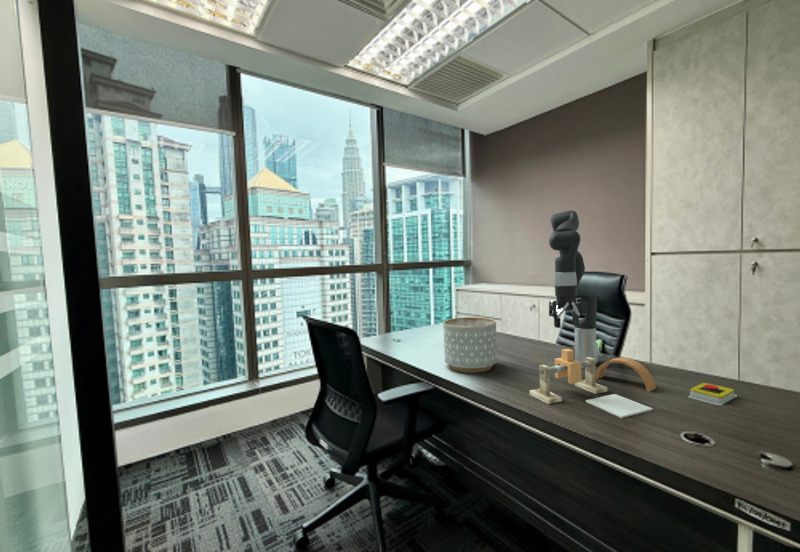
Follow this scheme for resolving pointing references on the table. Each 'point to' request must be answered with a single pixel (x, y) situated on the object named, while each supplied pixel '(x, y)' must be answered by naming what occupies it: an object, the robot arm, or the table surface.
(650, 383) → the arch
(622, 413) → the mat
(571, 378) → the wooden bridge block
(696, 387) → the emergency button
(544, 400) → the rail stand
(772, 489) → the table surface
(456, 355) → the planter
